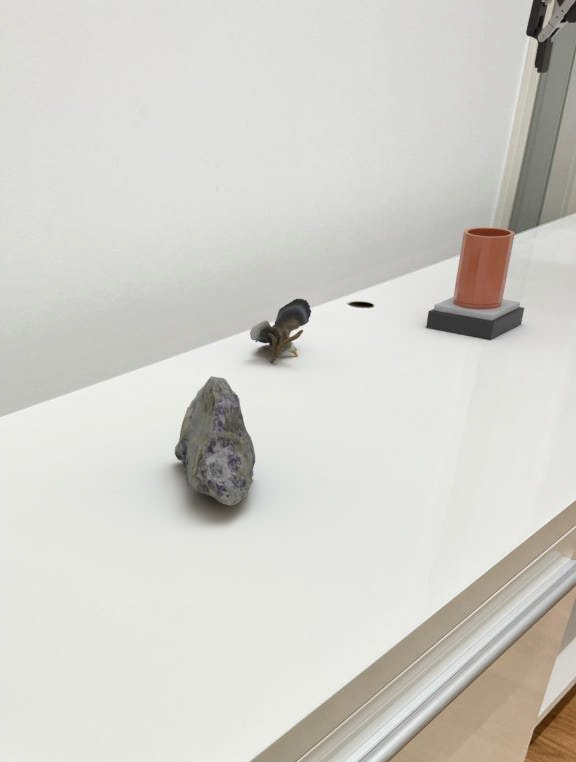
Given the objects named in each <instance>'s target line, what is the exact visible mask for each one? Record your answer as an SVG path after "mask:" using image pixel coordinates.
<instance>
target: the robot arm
mask: <svg viewBox="0 0 576 762" xmlns="http://www.w3.org/2000/svg"><path fill="white" fill-rule="evenodd" d="M531 3H532V4H531V8H530V13H529V17H528V21H527V25H526V31H525V34H526V36H527V37H531V38H533V39H534V40H536V41H537V47H536V53H535V59H534V68H535V69H536V73H537V74H545V73H547V72H548V71H549V67H550V63H551V58H552V57H551V56H552V51H553V46H554V41H553V39H554V37H555V36H556V35H557V34H558V33H559V32H560V31H561V30H562V28H564V27H565V26H566V25H567V24H575V23H576V0H556V3H557V5H558V9H557V10H556V11H555V13H554V14H553V15H552V16H551V17H550V18H549V20H548V22H547V24H546V25H545V26H544V23H545V19H546V16H547V15H546V14H547V10H548V6H549V5H551V4H552V3H553V0H532V2H531Z"/></svg>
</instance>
